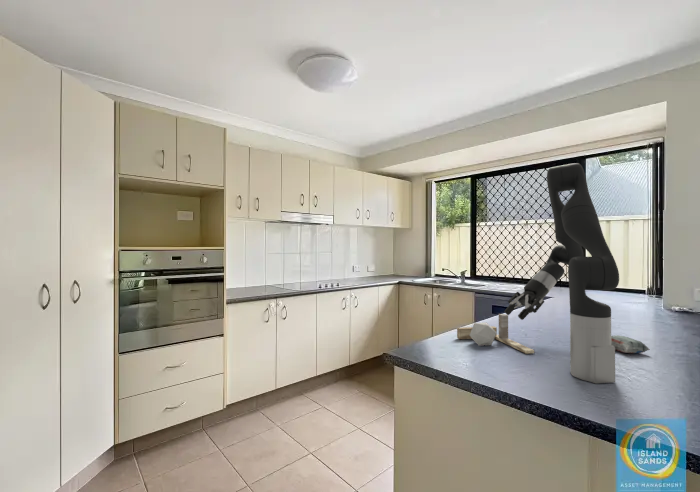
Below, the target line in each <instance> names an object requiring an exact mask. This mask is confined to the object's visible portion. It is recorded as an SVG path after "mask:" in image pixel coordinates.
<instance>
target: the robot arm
mask: <svg viewBox="0 0 700 492" xmlns="http://www.w3.org/2000/svg"><path fill="white" fill-rule="evenodd" d="M546 182H547V183H546V184H547V191H548V196H549V200H550V201H549V202H550V207H551V210H552V214H553V220H554V235H555V240H556V242H557V243H559V244H558V245H556V246H554V247H553V248H552V250H551V252H550V254H549V257H548V259H547V261H546V263H545V264H544V265H543V267H542V268H540V270H539V271H538V272H537V273H535V274H534V276H532V277H531V278H530V280H529V281H528V282H527V283H526V285H524V287H523V292H522V293H520V292H519V291H516V292H515V293H514V295H513V296H512V297H511V298H509V299H508V300H507V303H508V304H509V305H508V306H507V307H506V309H504V312H503V313H504V314H506V315H508V316H510V315H511V313H512V312H513V311H514V310H515V309H517V308H518V307H520V308H521V307H522V306H524V308H523V309H522V310H521V311H520V312H519V314H518V315H517V317H518V319H520V320H521V321H523V320H524V319H526V317H528V315H529V314H532V313H537V312H538V310H540V308H541V307H542V306H543V304H544V303H545V300H544V298H545V297H546V296H547V294H548V293H550V291H551V290H552V289H553V288H554V287H555V285H556V284H557V282H558V281H559V280H560V279H561V278H562V277H563V276H564V274H565V269H564V267H563V266H562V265H561V264H560V263H562V264H564V265H567V275H568V287H569V288H568V291H569V295H568V296H569V321H570V322H569V332H570V333H569V345H570V346H569V347H570V348H569V350H570V351H569V357H570V358H569V359H570V360H569V361H570V362H569V363H570V367H569V369H570V374H571V376H573V377H575V378H576V379H579V380H583V381H585V382H590V383H593V384H607V383H609V384H611V383H616V350H615V347H614V346H612V345H611V336H612V308H611V306H610V305H608V304H606V303H603V302H600V301H598V300H594V299H592V298H591V297H590V296H588V295H587V293H586V291H587V290H588V291H613V290H615V289H616V288H617V287H618V286H619V282H620V272H619V267H618V265H617V262H616V260H615V258H614V256H613V254H612V252H611V249H610V248H609V247H610V246H609V245H608V244H607V241H606V239H605V236H604V233H603V230H602V227H601V223H600V219H599V217H598V213H597V211H596V208H595V205H594V204H593V201H592V198H591V194H590V191H589V187H588V182H587V178H586V172H585V170H584V168H583V165H581V164H580V163H579V162H576V163H575V162H574V163H568V164H567V163H566V164H563V165H557V166H552V167H549V168H548V170H547V172H546ZM568 191H574V192H573V193H572V195H571V197H570V198H569V199H568V200H567V202H566V203H563V201H562V200H561V197H560V193H561V192H568ZM583 248H584V249H585V250H586V251H587V252H588V253H589V255H590V256H584V249H583Z"/></svg>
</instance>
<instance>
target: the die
mask: <svg viewBox="0 0 700 492" xmlns="http://www.w3.org/2000/svg"><path fill="white" fill-rule="evenodd" d="M491 326H492V325H490V324H489V323H487V322H475V323H473V326H472V327H473V328H472V330H471V333H470V335H469V336H470V337H471V338H472V340H473V341H474V342H475V343H476V344H477V346H478V347H482V346H484V345H485V346H492V345H493V343H494V340H495V336H496V333H497V332H496V331H495V330H494V329H493V328H492V327H491ZM497 334H498V333H497Z"/></svg>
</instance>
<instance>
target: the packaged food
mask: <svg viewBox="0 0 700 492" xmlns="http://www.w3.org/2000/svg"><path fill="white" fill-rule="evenodd" d="M611 345H612V346H614V347H615V351H616V352H620V353H623V354H624V353H626V354H642V353H645V352H648V351H650V348H649V347H648V346H647V345H646V344H645V343H643V342H642V341H641V340H637V339H635V338H631V337H628V336H624V335H617V334H616V335H611Z"/></svg>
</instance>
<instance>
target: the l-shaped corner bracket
mask: <svg viewBox="0 0 700 492" xmlns="http://www.w3.org/2000/svg"><path fill="white" fill-rule="evenodd" d="M490 326H491V327H492V328H493V329H494V330H495V331H496V332H497V329H498V333H496V336H495V338H494V340H497V341H499V342H501V343H504V344H505V345H508V346H510V347H511V348H512V349H513V348H514V349H515V350H518V351H519V352H522V353H524V354H527V355H528V354H535V350H534V349H532V348H530V347H527V346H525V345H523V344H522V343H519V342H517V341H515V340H512V339H510V338H509V315H507V314H506V313H498V328H497V327H496V326H494V325H493V326H492V325H490ZM472 328H473V326H471V327H470V326H469V327H468V326H467V327H457V328H456V338H457V339H458V340H471V339H472V338H471V337H470V336H469V335H470V333H471V330H472ZM472 340H473V339H472Z"/></svg>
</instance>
